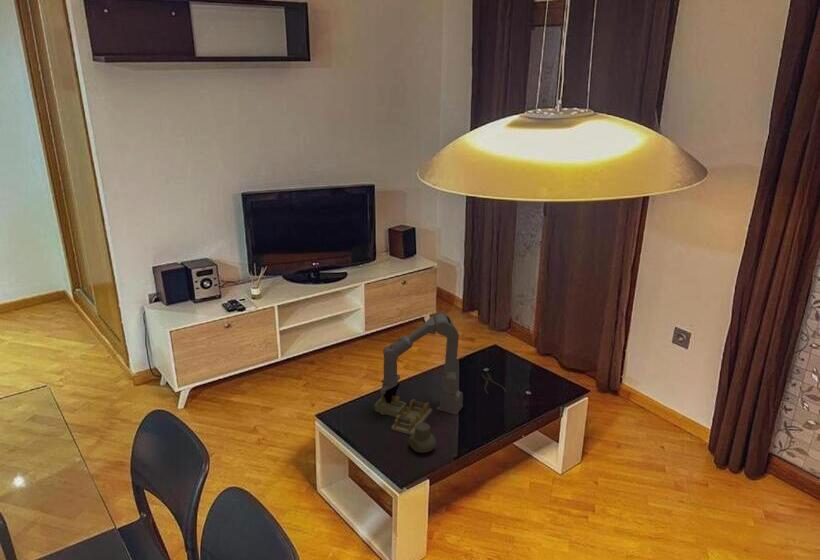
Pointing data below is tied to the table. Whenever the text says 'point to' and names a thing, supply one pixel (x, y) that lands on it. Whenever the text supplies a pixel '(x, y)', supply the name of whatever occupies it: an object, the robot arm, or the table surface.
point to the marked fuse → (394, 398)
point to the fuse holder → (413, 413)
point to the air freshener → (422, 438)
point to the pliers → (491, 381)
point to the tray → (390, 407)
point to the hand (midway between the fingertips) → (390, 400)
